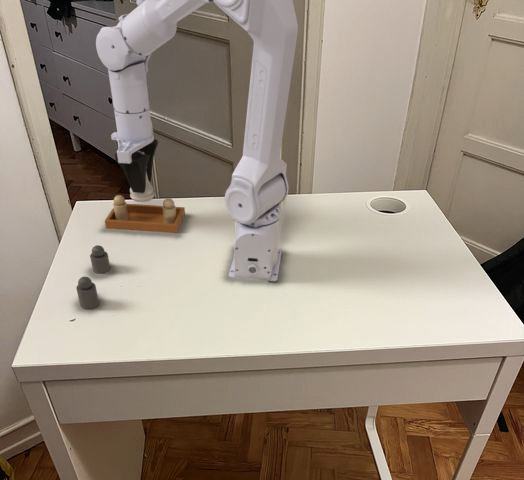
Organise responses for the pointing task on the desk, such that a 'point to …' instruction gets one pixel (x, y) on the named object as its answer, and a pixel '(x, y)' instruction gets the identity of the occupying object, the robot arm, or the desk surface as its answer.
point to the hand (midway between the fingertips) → (141, 186)
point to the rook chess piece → (147, 194)
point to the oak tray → (145, 219)
